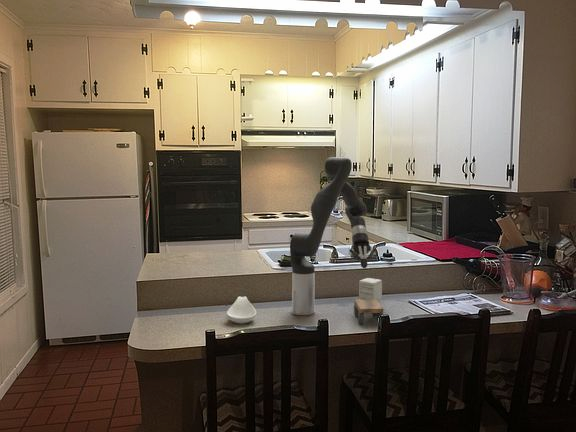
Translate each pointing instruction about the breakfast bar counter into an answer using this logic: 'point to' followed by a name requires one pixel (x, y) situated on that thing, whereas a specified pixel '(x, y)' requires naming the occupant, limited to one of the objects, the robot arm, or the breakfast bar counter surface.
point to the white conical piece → (241, 311)
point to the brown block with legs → (367, 308)
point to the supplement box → (370, 289)
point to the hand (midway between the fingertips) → (364, 267)
